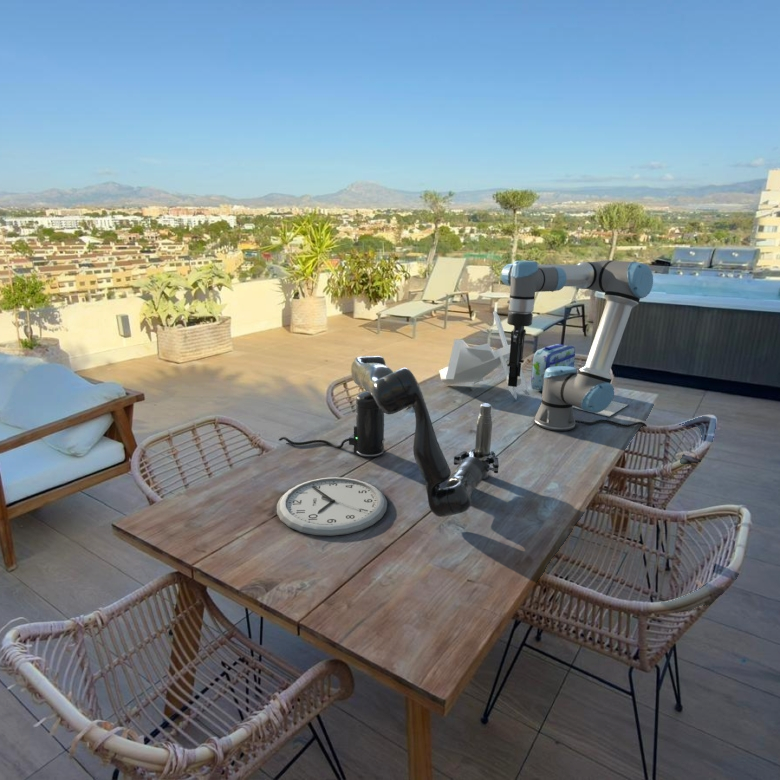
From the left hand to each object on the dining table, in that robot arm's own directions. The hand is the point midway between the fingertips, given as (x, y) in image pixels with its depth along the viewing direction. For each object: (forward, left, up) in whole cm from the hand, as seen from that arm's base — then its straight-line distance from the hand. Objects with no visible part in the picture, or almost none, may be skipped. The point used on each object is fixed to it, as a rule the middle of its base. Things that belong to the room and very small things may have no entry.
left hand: (484, 452), depth 162 cm
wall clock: (-31, -39, -7) cm, 50 cm away
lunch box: (+5, +103, -7) cm, 103 cm away
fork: (-44, +49, -7) cm, 66 cm away
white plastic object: (-24, +81, -7) cm, 84 cm away
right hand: (+4, +17, +18) cm, 25 cm away
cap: (+4, +17, +20) cm, 27 cm away
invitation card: (+29, +85, -7) cm, 90 cm away
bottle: (0, -3, -7) cm, 7 cm away
